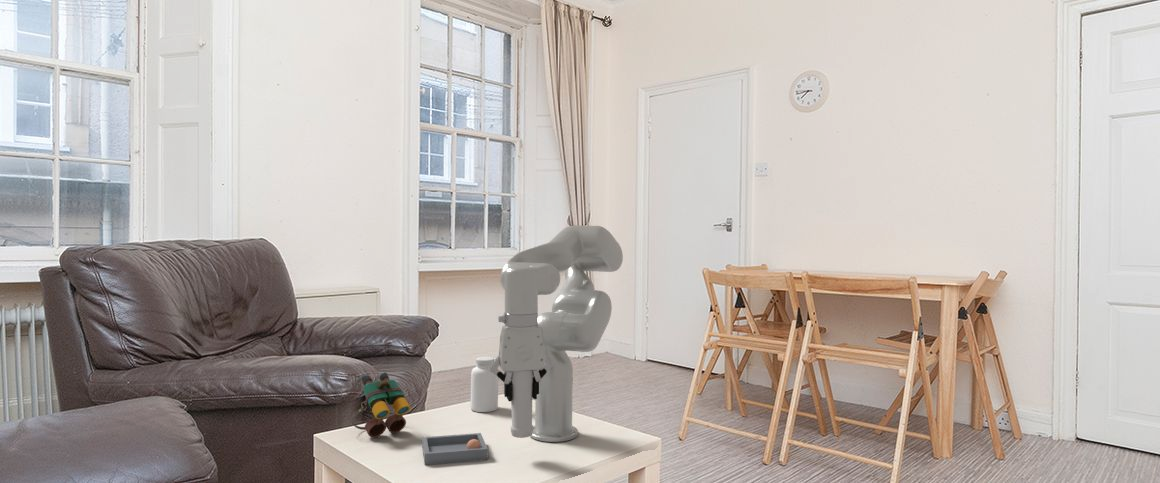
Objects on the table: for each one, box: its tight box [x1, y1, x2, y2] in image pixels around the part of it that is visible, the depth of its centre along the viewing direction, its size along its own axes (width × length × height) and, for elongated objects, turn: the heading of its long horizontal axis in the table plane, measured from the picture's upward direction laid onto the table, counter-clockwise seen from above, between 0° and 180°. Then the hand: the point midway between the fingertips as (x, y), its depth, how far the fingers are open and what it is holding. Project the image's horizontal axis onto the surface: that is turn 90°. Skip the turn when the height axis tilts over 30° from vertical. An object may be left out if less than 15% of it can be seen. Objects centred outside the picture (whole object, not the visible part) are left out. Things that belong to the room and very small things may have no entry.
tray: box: [421, 432, 489, 466], centre depth 153 cm, size 12×14×2 cm
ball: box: [467, 439, 481, 449], centre depth 151 cm, size 3×3×3 cm
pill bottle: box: [470, 356, 499, 413], centre depth 191 cm, size 8×8×15 cm
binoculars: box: [350, 372, 411, 438], centre depth 169 cm, size 14×14×15 cm
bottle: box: [510, 371, 534, 439], centre depth 150 cm, size 5×5×25 cm
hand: (521, 397), depth 150 cm, fingers closed on bottle, 5 cm apart
